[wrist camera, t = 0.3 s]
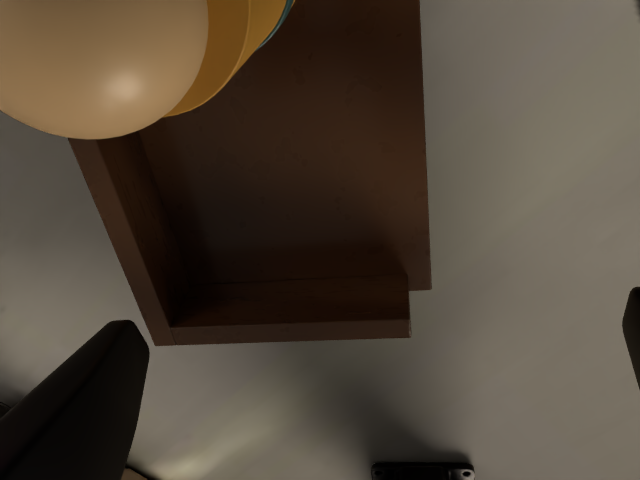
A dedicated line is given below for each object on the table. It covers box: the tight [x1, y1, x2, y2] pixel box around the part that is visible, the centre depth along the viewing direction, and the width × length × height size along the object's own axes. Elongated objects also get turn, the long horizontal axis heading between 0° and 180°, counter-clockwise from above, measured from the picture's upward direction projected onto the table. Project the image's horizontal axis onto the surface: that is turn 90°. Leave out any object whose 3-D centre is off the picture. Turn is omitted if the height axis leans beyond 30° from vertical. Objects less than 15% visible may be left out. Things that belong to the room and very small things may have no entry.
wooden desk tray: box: [67, 0, 432, 346], centre depth 18 cm, size 22×12×6 cm, turn 8°
